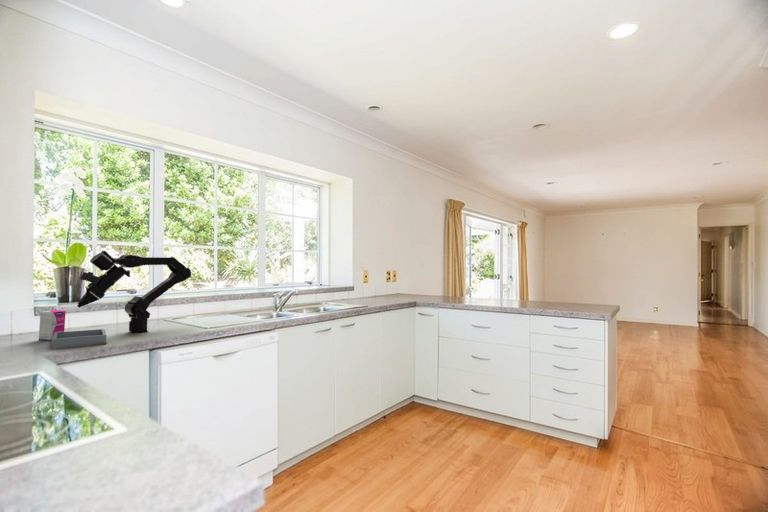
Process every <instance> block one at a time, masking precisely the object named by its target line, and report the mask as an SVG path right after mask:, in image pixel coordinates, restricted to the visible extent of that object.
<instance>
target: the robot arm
mask: <svg viewBox="0 0 768 512" xmlns="http://www.w3.org/2000/svg"><path fill="white" fill-rule="evenodd" d="M89 262H90V263H91V264H93V265H94V266H95V268H97V269H99V270H100V271H101V272H102V271H106V272H104V273H103V274H100V275H99V276H98V275H95V274H94V272H91V271H83V272H82V274H81V275H80V277H79V279H80V280H82V281H86V282H89V283H88V284H87V286H86V287H85V289H86V290H85V293H84V294H83V296H82V297H81V298H80V299H79V301H78V302H77V305H76V306H77V307H78V308H82V307H84V306H86V305H89V304H92V303H94V302H96V301H100V300H101V299H103V297H105V296H106V294H105V293H107V291H108V290H109V289H110V288H112V287H113V286H115V284H116V283H117V282H118V281H120V280H121V279H122V278H123V277H124V276H126V277H128V278H130V277H131V270H129V269H132V268H137V267H142V266H164V265H165V266H166V267H168V269H169V270H170V271H171V272H170V274H169V275H168V277H167V278H166V279H165V280H163V281H162V282H160V283H159V284H157V285H156V286H155V287H153V288H152V289H151V290H149V291H148V292H146V293H145V294H144V295H143V296H137V295H135V296H133V297H132V298H131V299H130V300H128V301H126V304H125V306H124V311H125V313H126V314H128V315H127V316H128V317H129V318H130V320H129V321H128V331H129V333H131V334H133V333H137V334H138V333H147V332H149V330H148V319H149V318H150V316H151V313H150V312H149V311H148V308H149V307H150V305H151V303H153V302H155V300H157V299H158V298H160V297H161V296H162V295H163V294H164V293H166V292H167V291H169V290H170V289H171V288H173V287H174V286H175V285H176V284H179V283H182V282H185V281H186V280H189V279H190V278H191V277H192V271H191V269H190V268H189V267H186V265H184V264H183V263H181V262H180V261H179V260H178V259H177V258H176V257H174V256H163V257H162V256H160V257H157V256H155V257H154V256H151V257H149V256H148V257H147V256H146V257H145V256H141V255H133V254H122V255H120V256H119V257H117V258H116V257H115V258H114V257H113V256H112V255H110V254H109V253H108V252H107V251H106V250H102V251H100V252H98V254H96V255H93V256H92V257H91V259H90V261H89ZM117 265H119V266H117ZM126 268H127V269H126Z"/></svg>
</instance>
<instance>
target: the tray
mask: <svg viewBox="0 0 768 512" xmlns="http://www.w3.org/2000/svg"><path fill="white" fill-rule="evenodd" d="M107 337H108V336H107V332H106V329H105V328H100V329H99V328H98V329H88V330H87V329H85V330H70V331H69V330H67V331H64V332H55V333H54V336H53V339H52V341H51V349H52V350H57V348H58V349H67V347H69V348H77V347H78V346H81V347H89V346H90V347H91V346H99V345H107ZM78 348H79V347H78Z"/></svg>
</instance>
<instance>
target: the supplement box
mask: <svg viewBox="0 0 768 512" xmlns="http://www.w3.org/2000/svg"><path fill="white" fill-rule="evenodd" d="M39 313H40V314H39V315H40V316H39V330H38V341H43V342H52V339H53V336H54V333H55V332H65V327H66V326H65V325H66V310H59V309H58V310H57V309H52V310H41V311H40V312H39Z"/></svg>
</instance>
